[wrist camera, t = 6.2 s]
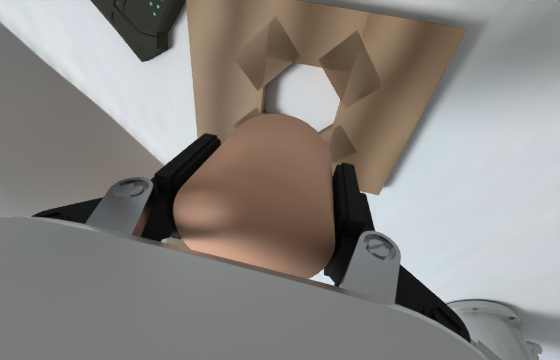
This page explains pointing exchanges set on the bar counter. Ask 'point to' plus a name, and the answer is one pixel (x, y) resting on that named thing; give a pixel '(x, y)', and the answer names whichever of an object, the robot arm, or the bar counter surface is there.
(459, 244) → the bar counter surface
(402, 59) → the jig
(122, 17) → the firearm
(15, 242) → the robot arm
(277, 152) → the tan rounded lump
